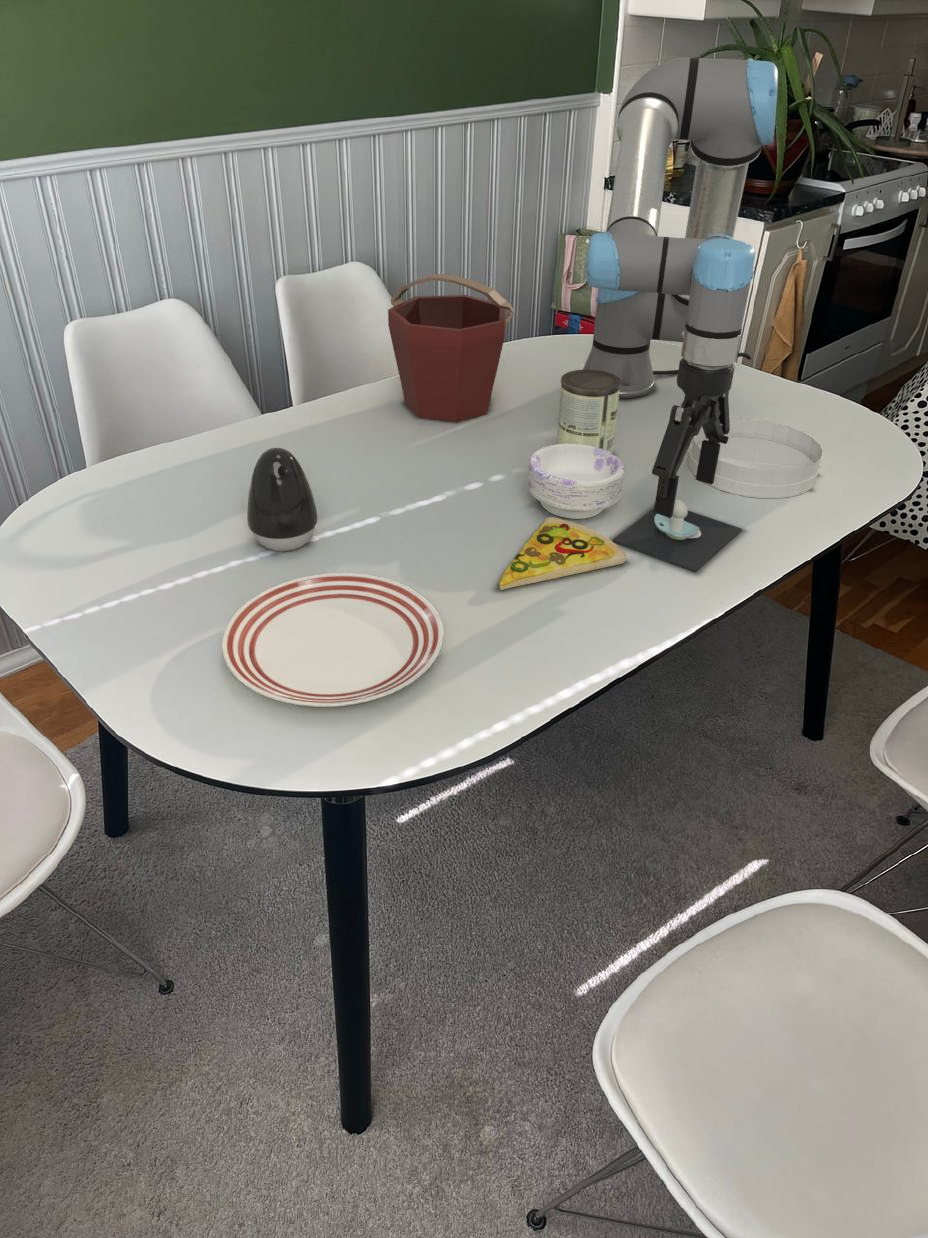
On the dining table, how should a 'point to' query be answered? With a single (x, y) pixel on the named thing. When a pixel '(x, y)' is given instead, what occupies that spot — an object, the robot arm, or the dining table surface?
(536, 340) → the dining table surface
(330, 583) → the dinner plate
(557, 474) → the paper bowls
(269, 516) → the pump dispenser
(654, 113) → the robot arm
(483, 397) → the bucket
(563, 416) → the coffee can
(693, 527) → the pacifier
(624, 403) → the dining table surface
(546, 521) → the pizza slice
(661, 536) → the placemat
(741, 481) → the dish
